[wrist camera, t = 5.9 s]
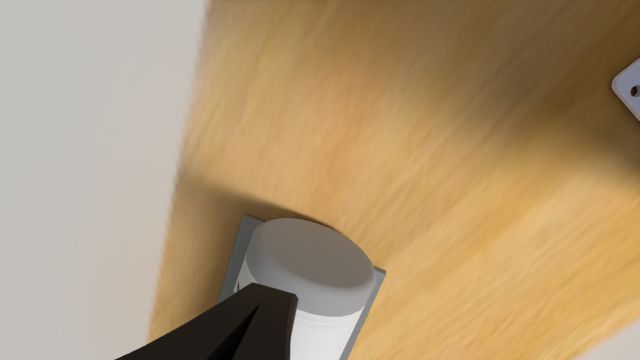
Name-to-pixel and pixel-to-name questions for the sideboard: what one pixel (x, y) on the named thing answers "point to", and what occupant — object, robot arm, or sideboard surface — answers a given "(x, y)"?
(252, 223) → the rubber mat
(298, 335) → the travel mug
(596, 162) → the sideboard surface
